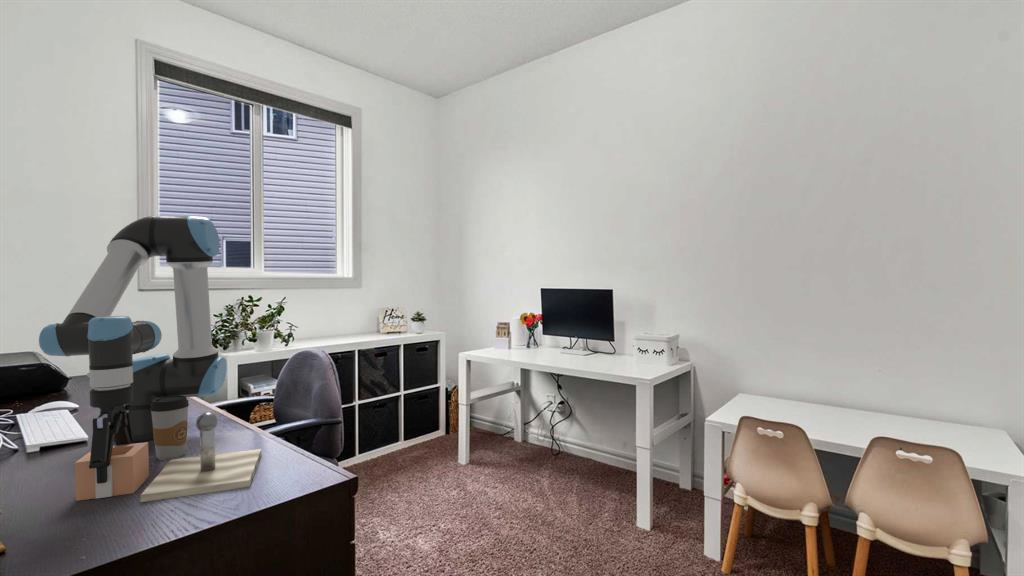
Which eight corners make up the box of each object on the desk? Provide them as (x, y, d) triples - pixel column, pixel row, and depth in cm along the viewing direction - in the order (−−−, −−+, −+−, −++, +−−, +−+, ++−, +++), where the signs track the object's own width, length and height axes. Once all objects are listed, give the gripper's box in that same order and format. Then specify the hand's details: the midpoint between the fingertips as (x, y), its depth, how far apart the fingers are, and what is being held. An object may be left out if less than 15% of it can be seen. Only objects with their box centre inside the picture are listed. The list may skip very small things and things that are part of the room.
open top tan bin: (96, 482, 113) (95, 447, 113) (149, 476, 117) (148, 442, 117) (75, 500, 104) (74, 462, 104) (133, 493, 108) (132, 456, 107)
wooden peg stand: (171, 465, 124) (169, 406, 123) (261, 454, 131) (260, 398, 130) (140, 502, 103) (139, 431, 103) (249, 486, 110) (248, 420, 110)
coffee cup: (170, 462, 125) (169, 403, 125) (143, 460, 127) (141, 402, 127) (197, 451, 134) (196, 395, 133) (171, 449, 135) (170, 394, 135)
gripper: (111, 378, 119) (113, 471, 120) (65, 399, 98) (68, 511, 99) (149, 376, 122) (151, 466, 122) (112, 395, 101) (115, 505, 101)
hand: (114, 487), depth 110 cm, fingers open, 10 cm apart
